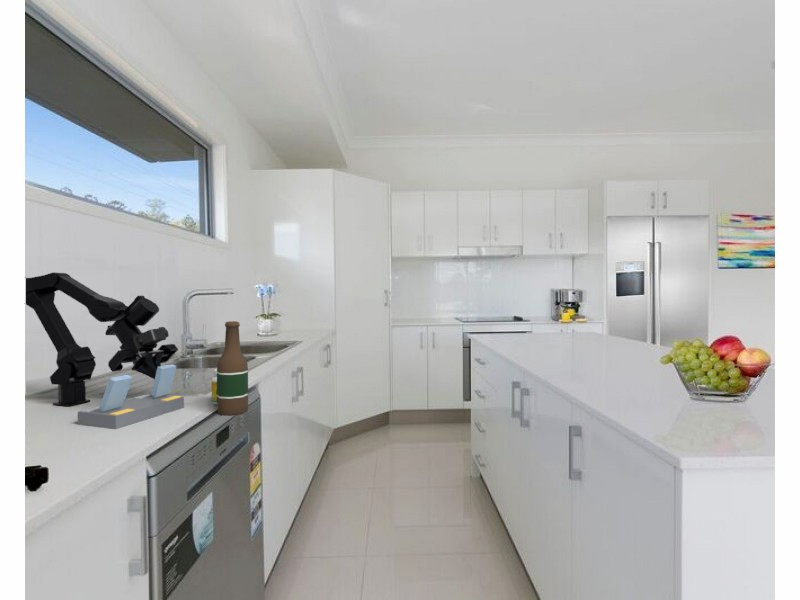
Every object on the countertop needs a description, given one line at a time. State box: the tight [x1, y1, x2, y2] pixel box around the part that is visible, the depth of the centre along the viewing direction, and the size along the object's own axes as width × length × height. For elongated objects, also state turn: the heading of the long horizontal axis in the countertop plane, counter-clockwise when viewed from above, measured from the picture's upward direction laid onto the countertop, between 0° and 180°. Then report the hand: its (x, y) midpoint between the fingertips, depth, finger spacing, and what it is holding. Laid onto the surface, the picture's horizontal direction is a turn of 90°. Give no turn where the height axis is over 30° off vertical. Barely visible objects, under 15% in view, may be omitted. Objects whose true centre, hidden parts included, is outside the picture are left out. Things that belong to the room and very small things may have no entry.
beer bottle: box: [216, 320, 249, 417], centre depth 122 cm, size 8×8×24 cm
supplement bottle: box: [211, 368, 217, 406], centre depth 133 cm, size 5×5×10 cm
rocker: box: [150, 363, 177, 398], centre depth 126 cm, size 2×5×9 cm, turn 162°
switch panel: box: [77, 393, 185, 430], centre depth 119 cm, size 12×21×3 cm, turn 162°
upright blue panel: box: [99, 374, 134, 412], centre depth 111 cm, size 2×5×9 cm, turn 162°
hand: (161, 380), depth 126 cm, fingers closed, pressing on rocker
